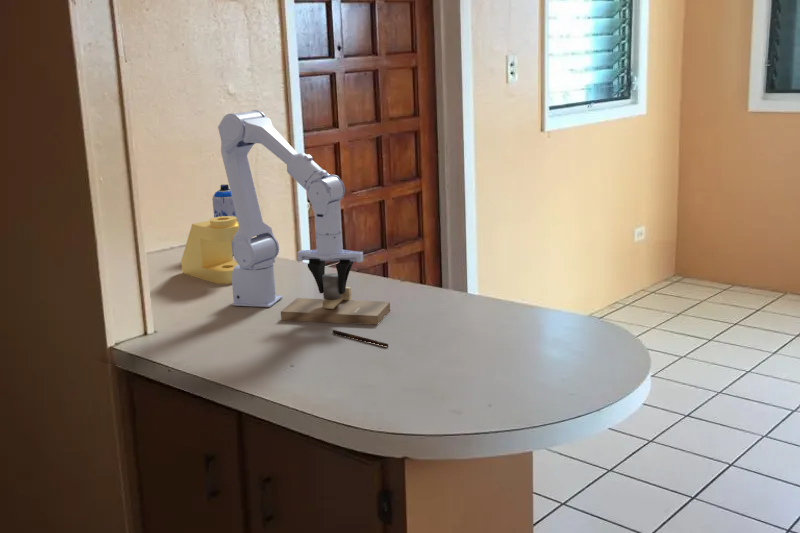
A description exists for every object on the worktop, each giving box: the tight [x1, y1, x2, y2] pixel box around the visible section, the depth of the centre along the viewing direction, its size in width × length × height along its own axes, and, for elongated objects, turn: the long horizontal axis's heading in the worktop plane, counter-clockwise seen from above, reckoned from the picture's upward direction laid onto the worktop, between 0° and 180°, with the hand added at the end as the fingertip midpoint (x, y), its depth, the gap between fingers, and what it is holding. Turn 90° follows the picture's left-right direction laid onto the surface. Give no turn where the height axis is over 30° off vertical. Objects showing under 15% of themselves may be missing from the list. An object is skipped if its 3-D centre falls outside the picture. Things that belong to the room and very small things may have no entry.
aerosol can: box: [212, 184, 238, 256], centre depth 247 cm, size 8×8×20 cm
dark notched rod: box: [332, 329, 389, 347], centre depth 172 cm, size 15×1×1 cm, turn 50°
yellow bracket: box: [180, 216, 239, 285], centre depth 223 cm, size 20×9×16 cm, turn 44°
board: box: [280, 297, 391, 325], centre depth 188 cm, size 22×10×2 cm, turn 76°
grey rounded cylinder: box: [322, 272, 352, 309], centre depth 190 cm, size 5×9×8 cm, turn 165°
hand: (332, 292), depth 189 cm, fingers closed on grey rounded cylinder, 4 cm apart
